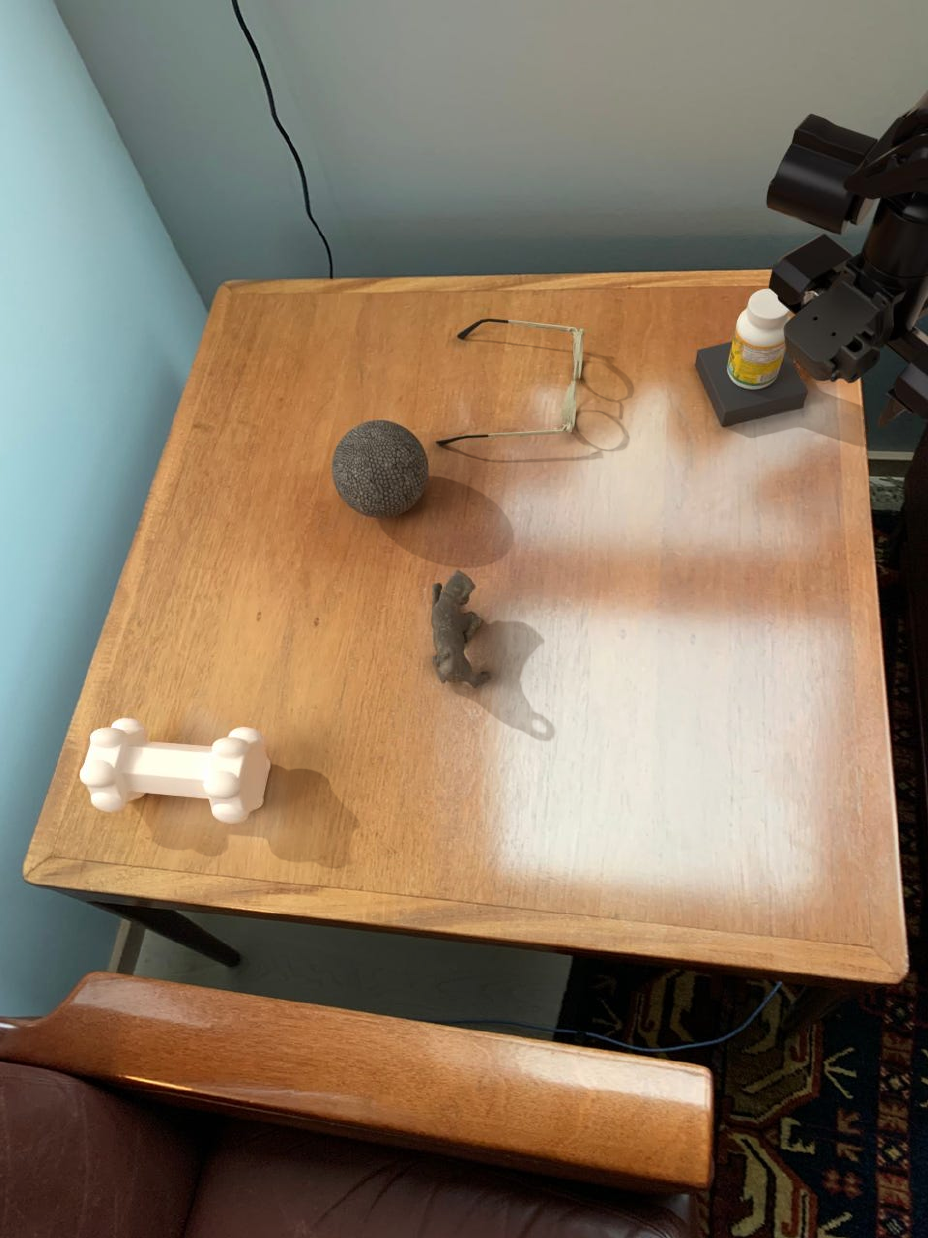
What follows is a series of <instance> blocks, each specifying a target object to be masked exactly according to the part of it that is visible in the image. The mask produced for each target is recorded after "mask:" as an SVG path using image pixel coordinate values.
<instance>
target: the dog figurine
mask: <svg viewBox="0 0 928 1238" xmlns="http://www.w3.org/2000/svg"><path fill="white" fill-rule="evenodd" d="M475 589H476V584H475V583H474V581H473V580H472V579H471V577H469V576H468V575H467V574H466V573H465V572H463V571H462V570H459V569H455V571H454V572H453V574H452V575H450V576H449V578H448V580H447V582H446V583H445V585H444V586H443V584H442V583H441V582H437V583H433V584H432V591H431V594H432V600H431V601H432V602H431V616H430V624H431V627H432V629H433V630H432V631H433V633H432V640H433V641H432V642H433V647H434V649H435V650H436V654H435V655H433V656H432V657H431V663H432V665H434V670H435V672H436V674H437V677H438V679H439V681H440V683H441V684H444V683H446V682H458V683H459V682H460V683H461V682H465V683H467V684H468V685H470V686H471V687H472V688H473V689H477V688H478V687H479V686H480V685H482V684H484V683H486V682H487V681H488V680H490V679H491V677H492V675H491V673H490V672H489V671H481V672H480V674H477V675H476V673H474V671H473V667H472V666H471V663H470V662H469V660H468V658H467V657H466V655H465V649H466V645H467V644H468V643H469V642H470V641H472V638H473V636H474V635H475V633H476V630H477V629H479V628H480V627H481V625H482V623H483V619H482V617H481V616H478V614H477V612H475V611H472V610H469V611H468V612H462V609H461V606H464V605H467V604H468V603H469V601H470V595H471V594H472V593H473V590H475Z"/></svg>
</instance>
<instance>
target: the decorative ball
mask: <svg viewBox="0 0 928 1238" xmlns="http://www.w3.org/2000/svg"><path fill="white" fill-rule="evenodd" d="M331 461H332V462H331V475H332V481H333V484H334V487H335V490H336V492H337V493H338V495H339V497H340V498H341V500H343V502H344V503H345V504H346V505H347V506H348V507H349V508H351V509H352V510H354V511H355V512H357V513H358V514H361V515H363V516H366V517H368V518H373V519H388V518H393V517H396V516H399V515H401V514H403V513H405V512H407V511H408V510H409V509H411V508H413V506H414V505H415V504H416V503H417V502H418V501H419V499H420V498H421V497H422V495H423V494H424V492H425V490H426V487H427V484H428V480H429V473H430V472H429V470H430V469H429V468H430V467H429V460H428V456H427V453H426V450H425V448H424V445H423V444H422V443H421V441H420V439H419V438H418V437H417V435H415V434H414V433H413V432H412V431H410V429H408V428H407V427H405V426H403V425H401V424H400V423H397V422H393V421H391V420H386V419H374V420H369V421H366V422H362V423H360V424H358V425H356V426H355V427H353V428H351V429H350V430H348V431H347V432H346V433H345V434H344V435H343V437H342V438H341V439H340V440H339V442H338V443H337V445H336V447H335V450H334V451H333V456H332V460H331Z"/></svg>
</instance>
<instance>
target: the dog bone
mask: <svg viewBox="0 0 928 1238" xmlns="http://www.w3.org/2000/svg"><path fill="white" fill-rule="evenodd" d="M89 740H90V741H89V742H90V744H89V747H88V750H87V754H86V757H85V760H84V763H83V766H82V767H81V769H80V771H79V778H80V781H81V782H82V783H83V784H84V785H85V786H86V788H87V790H88V792H89V794H90V802H91V804H92V805H93V807H94V808H96V809H98V810H100V811H102V812H106V813H117V812H120V811H122V810H124V809H125V808H126V807H127V805H128V802H131V801H134V800H138V799H141V798H143V797H144V796H145V794H152V795H163V796H176V797H184V798H194V799H195V798H196V799H207V800H209V801H208V802H209V804H210V805H209V806H210V808H211V813H212V815H213V817H214V818H215V819H216V820H217V821H219V822H221V823H224V824H228V825H236V824H241V823H243V822H245V821H246V820H247V819H248V817H249V816H250V815H249V814H250V812H253V811H254V810H257V809H260V807H262V805H263V804H264V801H265V800H264V796H265V791H266V787H267V783H268V782H267V781H268V777H269V772H270V771H271V760H270V758H269V757H268V755H267V751H266V748H265V747H266V746H265V738H264V735H263V733H261V732H260V731H259V730H258V729H255V728H253V727H249V726H239V727H236V728H234V729H232V730H231V731H230V732H229V734H228V736H225V737H221V738H219V739H217V740H215V741H214V742H213V744H212V746H211V745H201V744H199V745H198V744H187V743H176V742H163V741H151V740H150V739H149V735H148V732H147V728H146V726H145V724H144V723H143V722H142V721H140V720H139V719H136V718H133V717H122V718H118V719H116V720H115V721H113V723H112V724H111V726H109V727H101V728H98V729H95V730H94V731H92V732H91V734H90V736H89Z"/></svg>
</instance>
